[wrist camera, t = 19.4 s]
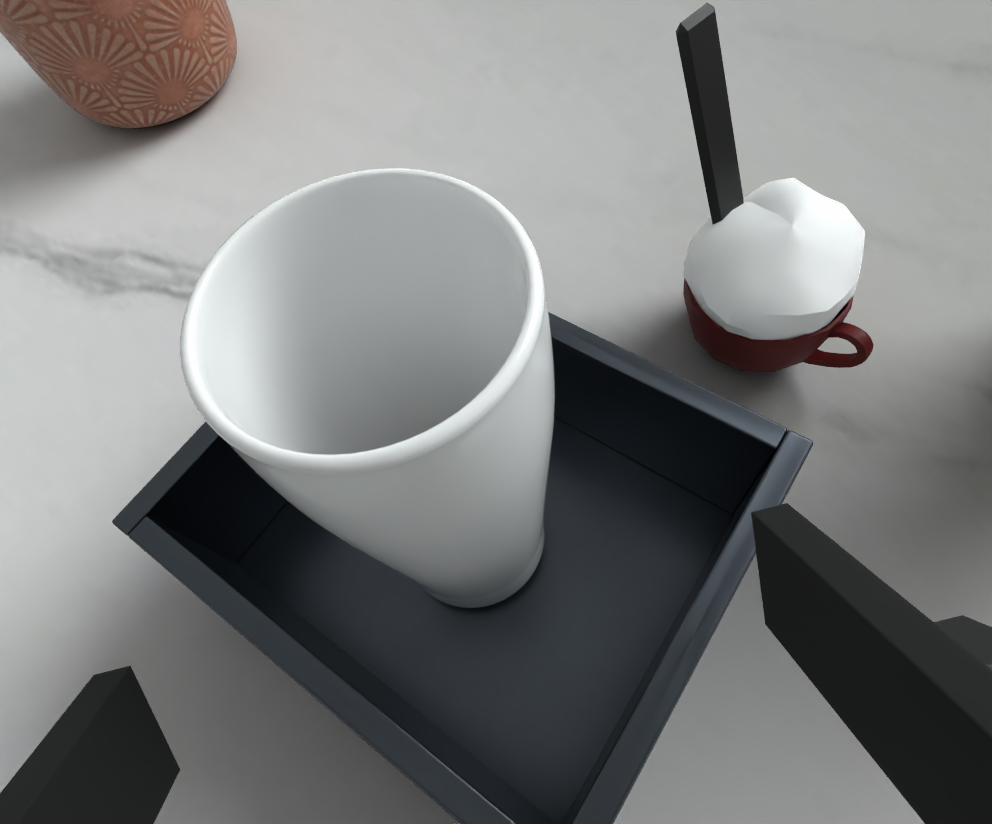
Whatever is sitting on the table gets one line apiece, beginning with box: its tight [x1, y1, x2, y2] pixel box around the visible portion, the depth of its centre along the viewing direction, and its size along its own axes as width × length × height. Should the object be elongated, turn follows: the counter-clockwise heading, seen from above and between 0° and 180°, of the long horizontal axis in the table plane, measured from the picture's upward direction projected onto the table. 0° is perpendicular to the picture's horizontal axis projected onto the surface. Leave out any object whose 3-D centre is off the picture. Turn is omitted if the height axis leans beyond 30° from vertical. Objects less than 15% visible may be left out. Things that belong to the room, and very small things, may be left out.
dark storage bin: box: [112, 312, 813, 824], centre depth 22 cm, size 17×14×7 cm
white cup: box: [180, 168, 555, 608], centre depth 18 cm, size 7×7×15 cm
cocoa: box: [676, 3, 873, 372], centre depth 23 cm, size 10×6×12 cm, turn 19°
